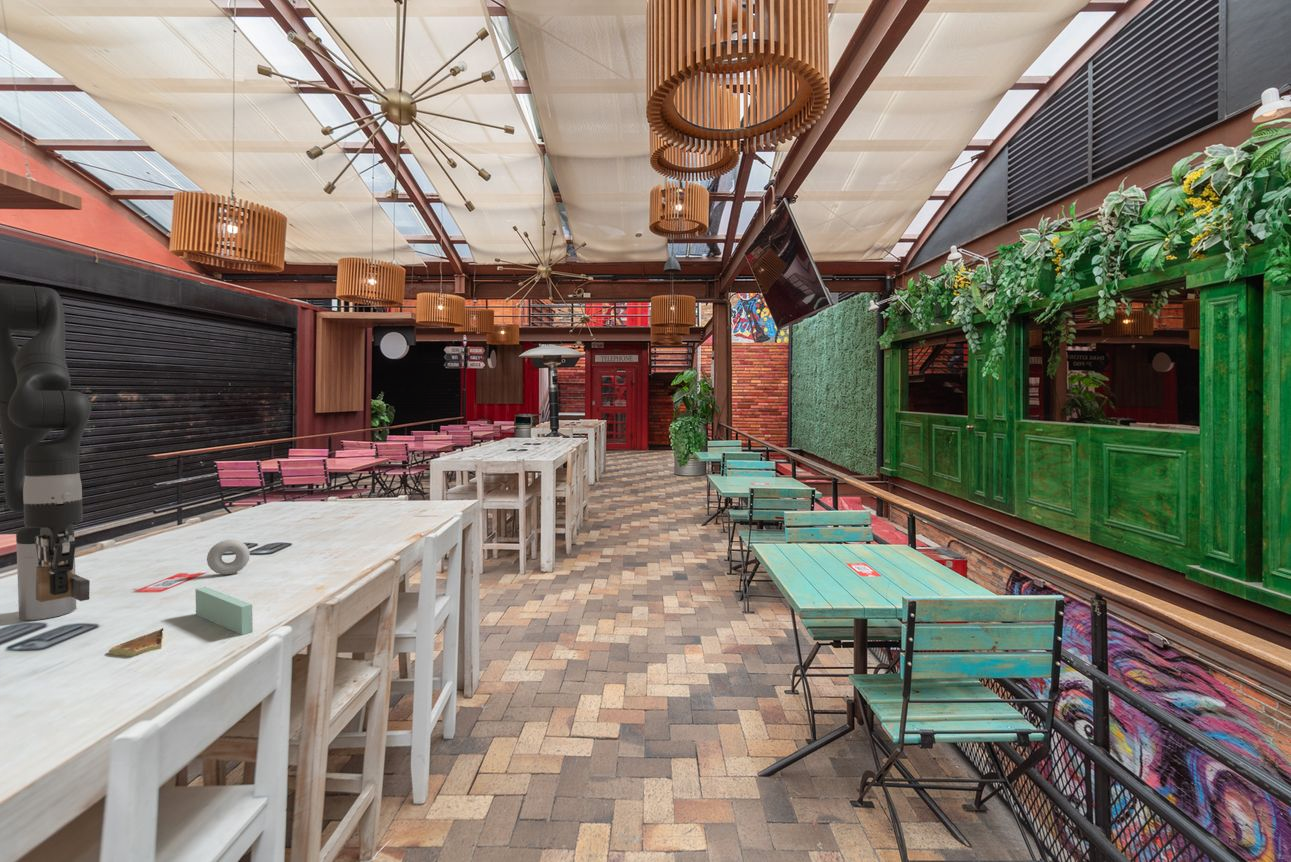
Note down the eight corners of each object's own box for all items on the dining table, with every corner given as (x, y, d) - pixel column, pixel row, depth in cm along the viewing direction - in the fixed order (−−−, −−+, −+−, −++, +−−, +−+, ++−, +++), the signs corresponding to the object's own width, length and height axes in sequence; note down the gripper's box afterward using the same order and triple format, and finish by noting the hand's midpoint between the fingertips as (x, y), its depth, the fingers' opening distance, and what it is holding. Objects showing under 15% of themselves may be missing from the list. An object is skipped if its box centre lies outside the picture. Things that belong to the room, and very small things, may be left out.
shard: (163, 635, 123) (162, 626, 122) (193, 638, 121) (193, 629, 121) (106, 656, 112) (106, 647, 112) (139, 660, 110) (139, 651, 110)
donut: (250, 570, 169) (249, 536, 169) (250, 573, 166) (249, 538, 166) (207, 575, 163) (206, 540, 163) (206, 578, 160) (206, 543, 160)
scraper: (27, 594, 108) (28, 562, 108) (66, 588, 112) (66, 557, 112) (49, 606, 101) (49, 572, 101) (89, 599, 105) (89, 566, 105)
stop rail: (196, 614, 133) (195, 588, 133) (206, 611, 135) (205, 586, 135) (242, 635, 122) (241, 607, 121) (252, 631, 123) (252, 604, 123)
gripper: (13, 498, 106) (15, 591, 107) (35, 504, 99) (38, 604, 99) (69, 494, 113) (71, 581, 113) (94, 499, 105) (96, 592, 106)
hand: (56, 591), depth 106 cm, fingers closed on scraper, 3 cm apart
